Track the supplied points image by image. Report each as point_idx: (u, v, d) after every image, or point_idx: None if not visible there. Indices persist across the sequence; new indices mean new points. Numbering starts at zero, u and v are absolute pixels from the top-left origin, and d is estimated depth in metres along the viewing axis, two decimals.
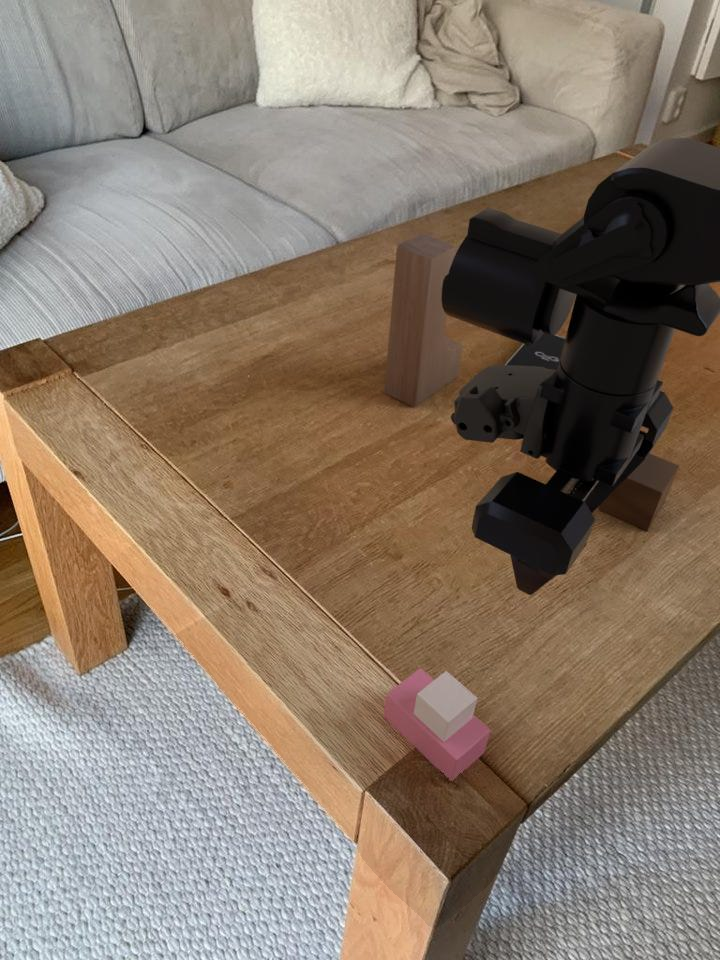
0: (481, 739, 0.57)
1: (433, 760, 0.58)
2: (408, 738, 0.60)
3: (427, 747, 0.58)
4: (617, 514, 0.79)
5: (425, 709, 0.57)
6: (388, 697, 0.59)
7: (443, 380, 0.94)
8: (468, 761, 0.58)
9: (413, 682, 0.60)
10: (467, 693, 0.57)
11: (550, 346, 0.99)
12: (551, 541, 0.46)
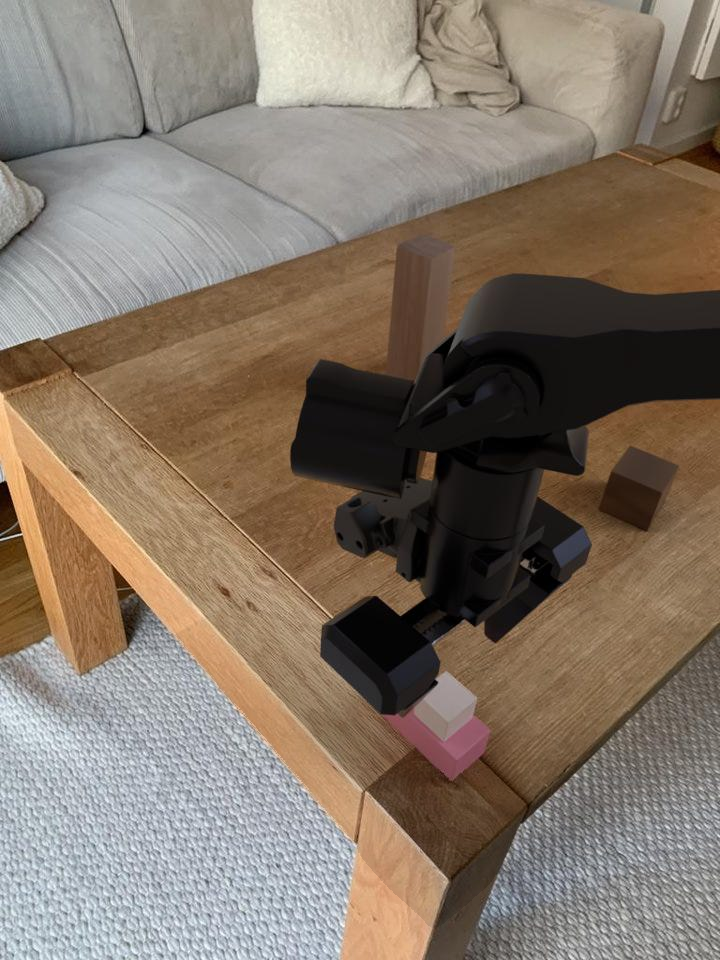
0: (481, 739, 0.57)
1: (433, 760, 0.58)
2: (408, 738, 0.60)
3: (427, 747, 0.58)
4: (617, 514, 0.79)
5: (425, 709, 0.57)
6: None
7: None
8: (468, 761, 0.58)
9: None
10: (467, 693, 0.57)
11: None
12: (376, 680, 0.43)
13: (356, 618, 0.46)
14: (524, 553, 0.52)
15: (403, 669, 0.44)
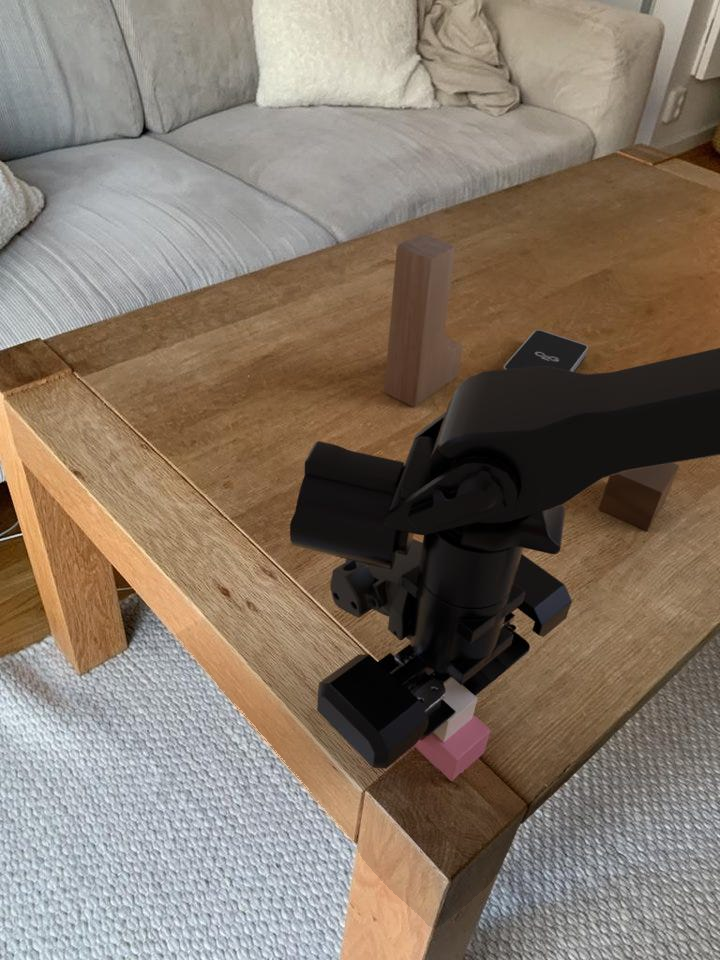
0: (481, 739, 0.57)
1: (433, 760, 0.58)
2: None
3: (427, 747, 0.58)
4: (617, 514, 0.79)
5: None
6: None
7: (443, 380, 0.94)
8: (468, 761, 0.58)
9: None
10: (467, 693, 0.57)
11: (550, 346, 0.99)
12: (368, 738, 0.47)
13: (351, 677, 0.49)
14: None
15: (394, 727, 0.47)
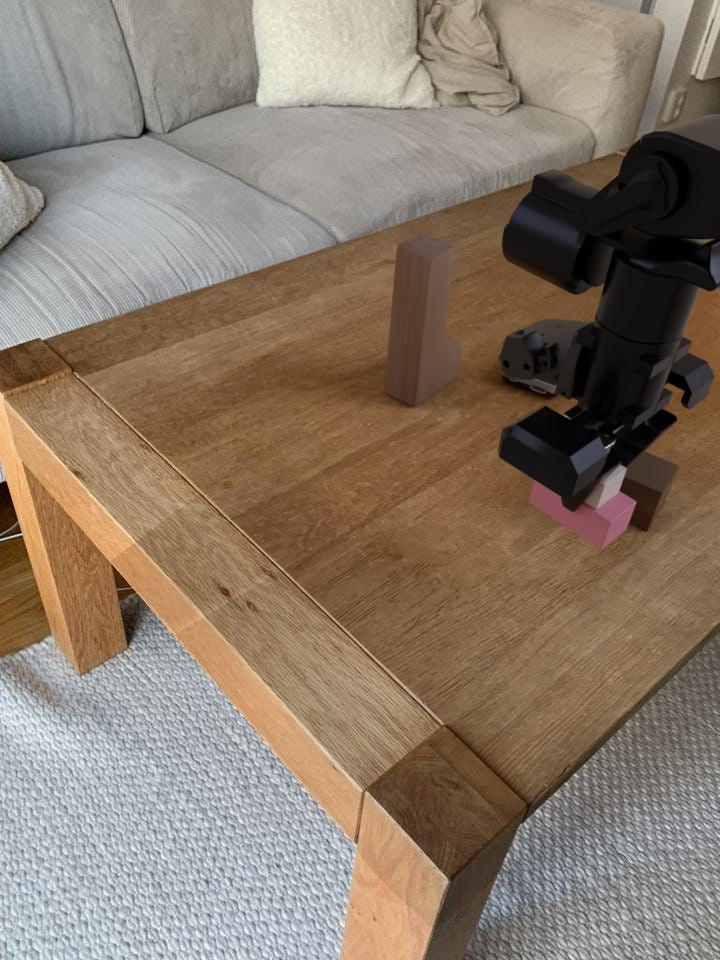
0: (629, 508, 0.62)
1: (582, 532, 0.63)
2: (555, 517, 0.64)
3: (577, 519, 0.63)
4: None
5: None
6: None
7: (443, 380, 0.94)
8: (616, 531, 0.63)
9: None
10: None
11: None
12: (559, 463, 0.52)
13: (533, 420, 0.54)
14: None
15: (581, 455, 0.52)
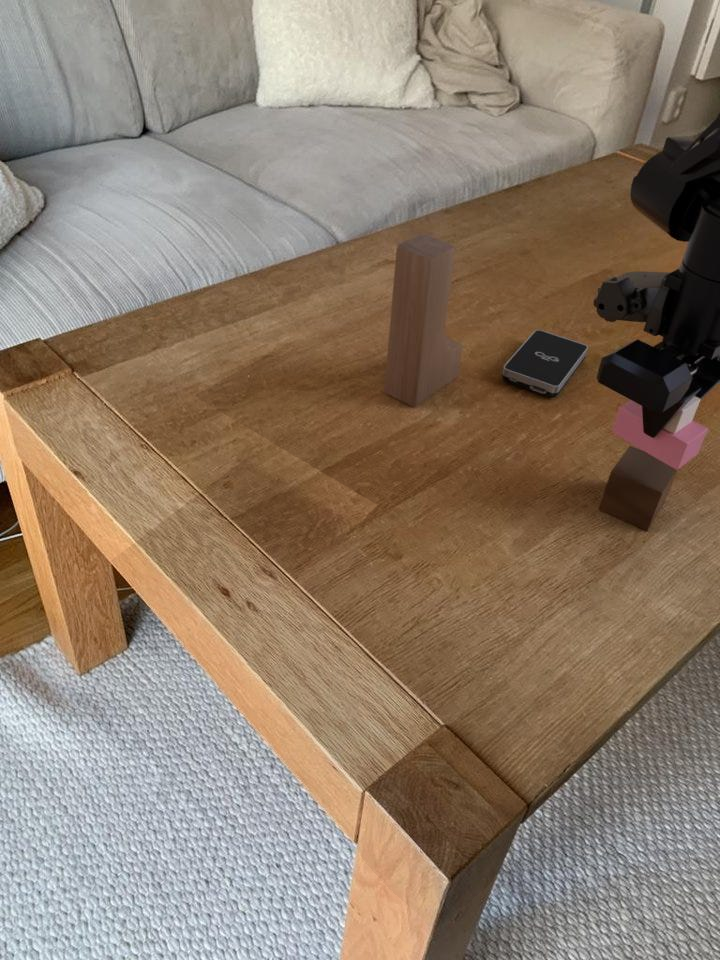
0: (702, 434, 0.72)
1: (660, 455, 0.73)
2: (636, 443, 0.75)
3: (656, 443, 0.73)
4: (617, 514, 0.79)
5: None
6: (621, 409, 0.75)
7: (443, 380, 0.94)
8: (690, 454, 0.73)
9: None
10: None
11: (550, 346, 0.99)
12: (654, 382, 0.62)
13: (629, 350, 0.65)
14: None
15: (671, 376, 0.62)
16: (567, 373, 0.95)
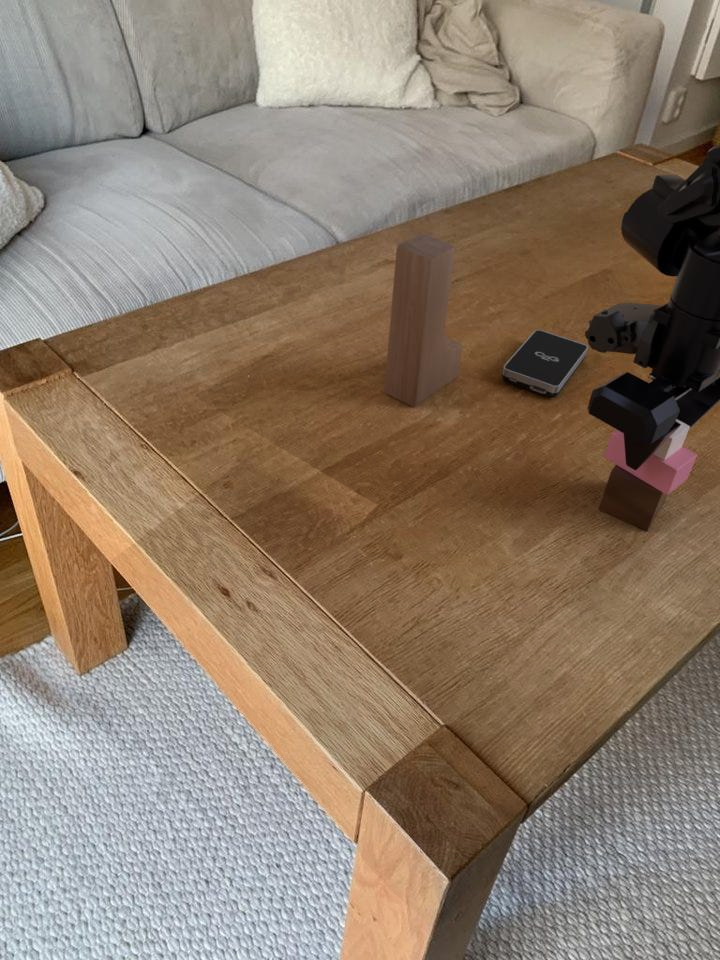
0: (691, 460, 0.74)
1: (651, 480, 0.75)
2: (627, 468, 0.77)
3: (647, 469, 0.75)
4: (617, 514, 0.79)
5: None
6: (613, 435, 0.77)
7: (443, 380, 0.94)
8: (679, 479, 0.75)
9: None
10: (681, 423, 0.74)
11: (550, 346, 0.99)
12: (642, 416, 0.64)
13: (619, 383, 0.67)
14: None
15: (659, 409, 0.64)
16: (567, 373, 0.95)
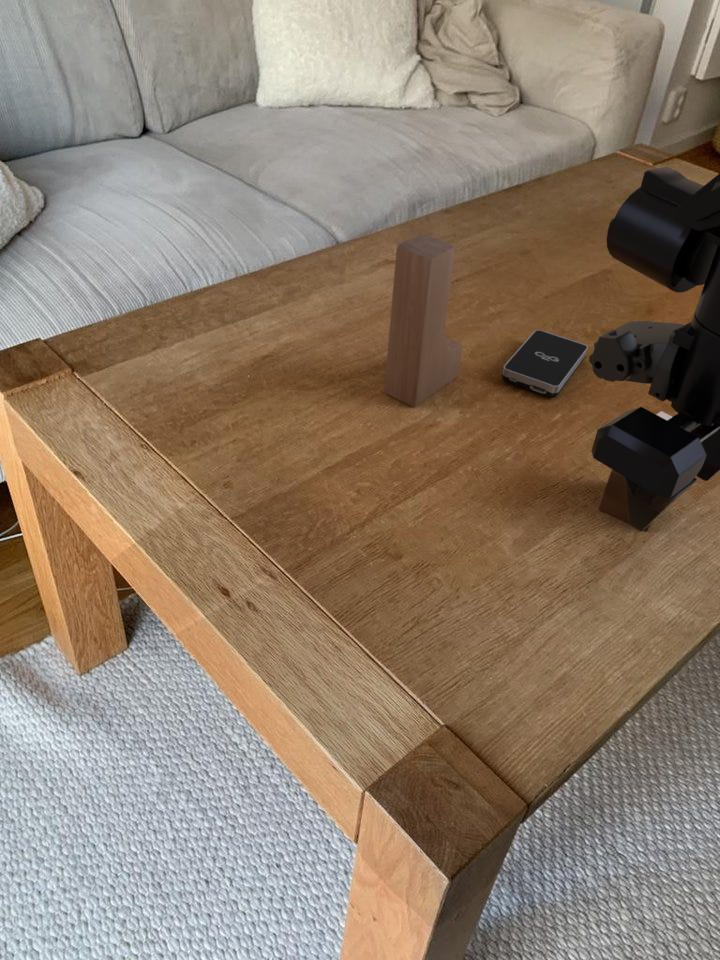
0: None
1: None
2: None
3: None
4: (617, 514, 0.79)
5: None
6: None
7: (443, 380, 0.94)
8: None
9: None
10: None
11: (550, 346, 0.99)
12: (660, 463, 0.51)
13: (630, 421, 0.54)
14: None
15: (681, 455, 0.51)
16: (567, 373, 0.95)
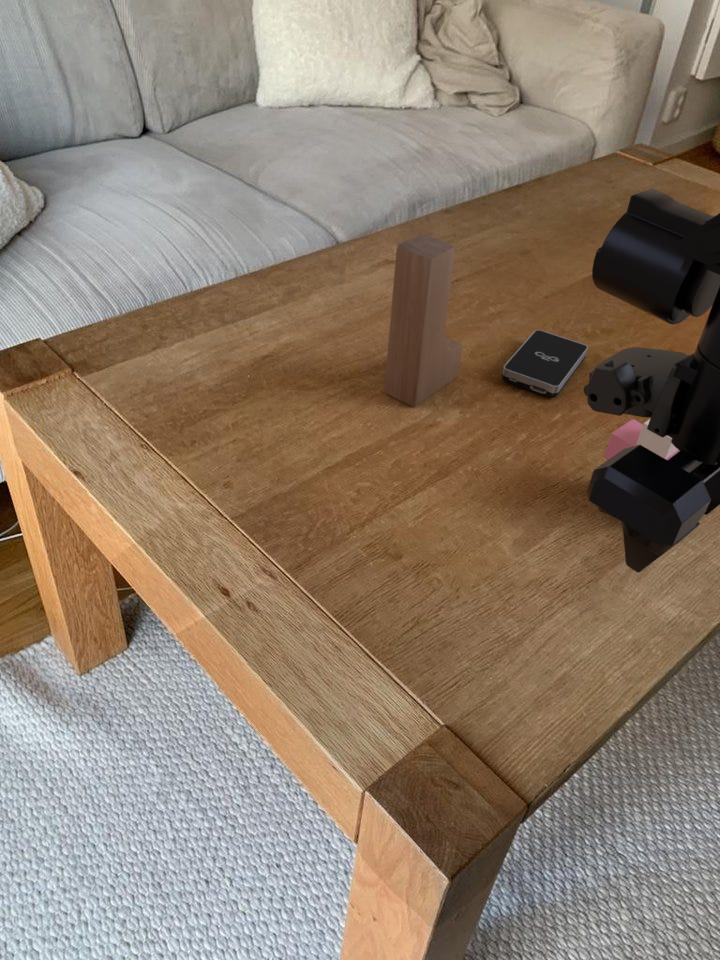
0: None
1: None
2: None
3: None
4: None
5: (650, 435, 0.74)
6: (613, 435, 0.76)
7: (443, 380, 0.94)
8: None
9: (630, 426, 0.77)
10: None
11: (550, 346, 0.99)
12: (661, 510, 0.47)
13: (629, 461, 0.50)
14: None
15: (684, 501, 0.48)
16: (567, 373, 0.95)
